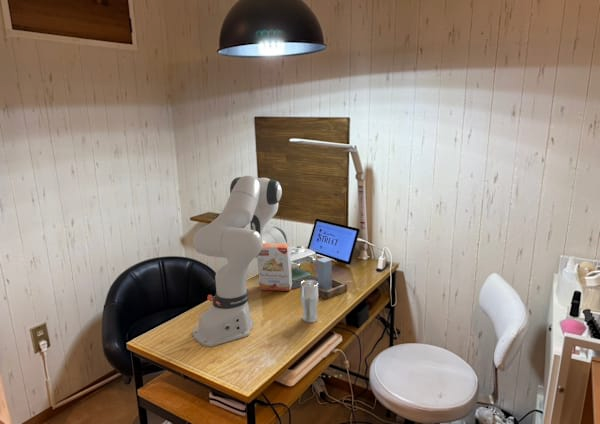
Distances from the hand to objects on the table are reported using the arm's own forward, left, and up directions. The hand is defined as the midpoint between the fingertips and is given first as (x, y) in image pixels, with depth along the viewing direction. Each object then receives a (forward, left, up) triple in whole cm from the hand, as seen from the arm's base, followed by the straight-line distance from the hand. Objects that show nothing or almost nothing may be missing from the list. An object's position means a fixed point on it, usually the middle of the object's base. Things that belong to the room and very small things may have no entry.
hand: (307, 263), depth 193 cm
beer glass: (-22, -28, -9) cm, 37 cm away
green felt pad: (0, +9, -8) cm, 12 cm away
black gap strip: (-3, -1, -8) cm, 9 cm away
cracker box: (-16, +3, -8) cm, 18 cm away
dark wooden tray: (0, -13, -8) cm, 15 cm away
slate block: (0, -12, -8) cm, 15 cm away
